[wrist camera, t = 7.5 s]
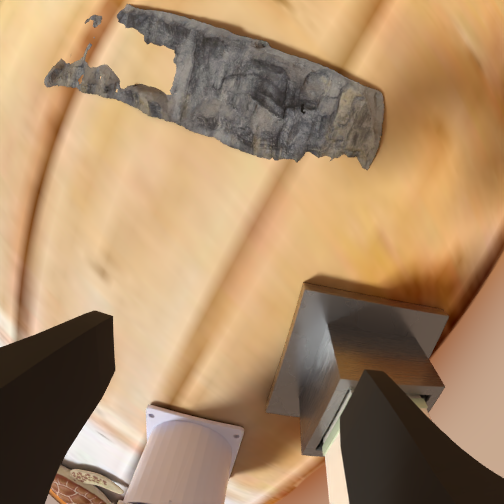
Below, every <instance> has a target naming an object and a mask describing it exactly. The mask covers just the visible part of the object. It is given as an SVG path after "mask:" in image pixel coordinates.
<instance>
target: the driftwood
mask: <svg viewBox="0 0 504 504" xmlns="http://www.w3.org/2000/svg"><path fill="white" fill-rule="evenodd" d="M117 18H118V20H119V21H118V22H120V23H122V24H124V25H125V26H126V28H131V27H133V28H135V29H136V30H138V31H139V32H140V33H141V34H143V35H144V41H145V42H146V43H147V44H149V43H153V44H155V45H158V46H162V45H164V46H166V47H168V48H170V49H173V50H175V56H176V57H175V58H174V63H175V64H176V67H177V68H176V74H175V77H174V81H173V86H172V88H171V90H170V92H171V94H172V95H166V94H165V93H164V92H162V91H160V90H158V89H156V88H154V87H148V86H146V85H143V84H139V85H136V84H135V86H134V85H130V86H127V88H125V89H121V88H120V85H119V84H120V80H119V78H118V77H117V76H116V74H115V73H114V72H113V71H112V69H111V68H110V67H109V66H108V65H101V66H99V67H97V68H95V67H93V68H90V67H89V66H88V64H87V62H85V57H86V54H87V51H88V50H89V48H90V47H91V46H92V44H89V45H88V47H87V48H86V51H85V53H84V57H82V58H81V59H80V60H78V61H76V62H74V63H72V64H70V63H67V64H66V63H65V61H64V60H62V59H61V60H60V61H59V62H58V63H57V64H56V65H55V66H53V68H52V69H51V70H50V72H49V73H48V75H47V76H46V77H45V81H44V83H45V85H46V86H47V87H52V86H56V85H58V86H66V87H72V88H75V87H77V88H78V89H79V91H81V92H83V93H88V94H90V93H91V94H98V95H99V96H100V95H101V96H102V97H105V98H110V99H111V98H113V99H117V100H118V101H119V100H120V101H122V102H124V103H127V104H129V105H130V106H133V107H135V108H138V109H139V110H141V111H142V112H143V113H145V114H147V115H148V116H151V117H158V118H159V119H164V120H165V121H169V122H174V123H176V124H178V125H180V126H183V127H185V128H186V129H188V130H190V131H193V132H195V133H199V134H202V135H205V136H208V137H215V138H216V139H217V140H220V141H221V142H222V143H223V144H226V145H228V146H230V147H232V148H236V149H239V150H241V151H243V152H246V153H249V154H252V155H256V156H257V157H260V158H261V157H263V158H266V159H269V160H270V159H271V158H272V157H273V159H274V160H279V159H293V160H295V161H296V162H298V161H299V160H300V159H301V158H302V157H303V156H304V154H305V152H311V153H312V154H314V155H315V156H316V157H318V158H319V157H323V156H328V157H331V158H332V159H333V158H338V157H340V156H341V155H343V154H345V155H347V156H348V157H355V156H356V157H357V158H358V161H359V162H360V164H361V166H362V168H364V169H366V170H368V169H369V168H370V167H369V166H370V164H371V163H372V161H373V158H374V157H375V156H376V155H375V154H376V152H377V149H378V147H379V141H380V136H381V135H382V133H381V132H382V123H383V119H384V118H383V114H384V103H383V101H384V100H383V95H382V93H381V92H380V91H378V90H375V89H372V88H370V87H367V86H363V85H361V84H360V83H359V82H355V81H353V80H351V79H348V78H347V77H344V76H342V75H341V74H339V73H337V72H336V71H335V70H332V69H329V68H328V67H323V66H322V65H320V64H317V63H314V62H311V61H309V60H307V59H304V58H299V57H297V56H293V55H289V54H286V53H284V52H281V51H280V50H277V49H274V48H271V47H270V46H269V43H268V42H266V41H263V40H257V39H251V38H249V37H243V36H239V35H235V34H233V33H231V32H230V31H228V30H225V29H222V28H217V27H214V26H212V25H210V24H208V25H207V24H206V23H202V22H200V21H199V22H198V21H196V20H194V19H188V18H186V17H185V16H184V17H183V16H178V15H176V14H172V13H167V12H163V11H156V10H143V9H139V8H136V7H134V6H130V5H128V4H127V5H126V7H125V8H124V9H123V10H121V11H120V12H119V13H118V15H117ZM90 19H91V20H94V23H93V27H94V28H95V27H97V26H98V25H99V24H100V23H101V20H102V16H97V15H93V16H91V17H90V18H89V19H87V20H86V21H85V24H86V23H87V22H89V20H90ZM94 39H95V37H94ZM90 49H91V48H90ZM82 74H84V76H83V78H82V83H81V84H79V82H78V79H79V78H80V77H81V75H82ZM100 76H102V77H101V80H100ZM116 89H118V93H117V92H115V91H116ZM332 159H331V160H332ZM331 160H330V161H331Z"/></svg>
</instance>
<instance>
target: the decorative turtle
mask: <svg viewBox="0 0 504 504" xmlns="http://www.w3.org/2000/svg"><path fill="white" fill-rule="evenodd" d="M95 485H97V486H101V487H103V488H105V489H108V490H110V491H112V492H115V493H118V494H123V493H124V491H123V490H122V489H121V488H120V487H119V486H117V485H116V484H115V483H114V482H112V481H111V480H109V479H108V478H106V477H105V476H102V475H100V474H98V473H95V472H91V471H86V470H80V469H72V470H70V469H68V468H66V467H64V466H63V465H60V467H59V469H58V472H57V474H56V476H55V478H54V481H53V483H52V486H51V489H52V491H53V492H54V493H55V494H57V495H58V496H59V498H61V499H62V500H63V501H64V502H66V503H67V504H114V503H112V502H111V501H109V499H108V498H107V497H106V495H105V494H104V493H103V492H102V491H100V490H99V489H98V488H97V487H96V486H95Z"/></svg>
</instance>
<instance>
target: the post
mask: <svg viewBox="0 0 504 504" xmlns="http://www.w3.org/2000/svg"><path fill="white" fill-rule="evenodd" d="M353 391H354V390H347V392H346V394H345V396H344V398H343V400H342V402H341V404H340V406H339V408H338V410H337V412H336V414H335V415H334V417H333V419H332V421H331V423H330V425H329V427H328V428H327V430H326V432H325V434H324V435H323V442H324V444H323V446H322V451H323V456H325V461H326V471H327V481H328V492H329V503H330V504H349V498H348V492H347V485H346V479H345V473H344V466H343V460H342V454H341V447H340V416H341V414H342V412H343V410H344V409H345V407H346V405H347V403H348V401H349V399H350V397H351V395H352V393H353ZM406 395H407V396H408V397H409V398H410V399H411V400H412V401H413V402H414V403H415V404H416V405H417V406H418V407H419V408H420V409H421V410H422V411H423V413H424V414H425V415H426V416H427V417H428V418H429V419H430V420H431V418H430V416H429V413H428V411H427V408H428V406H427V404H426V402H425V400H424V399H422V398H421V396H420V395H415V394H406ZM431 421H432V420H431Z"/></svg>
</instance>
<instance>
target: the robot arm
mask: <svg viewBox="0 0 504 504" xmlns="http://www.w3.org/2000/svg"><path fill="white" fill-rule="evenodd" d="M114 372H115V358H114V337H113V316H111V315H108V314H104V313H101V312H98V311H92V312H89V313H86V314H84V315H81V316H79V317H76V318H74V319H71V320H69V321H67V322H64V323H62V324H60V325H57V326H55V327H52V328H50V329H48V330H45V331H43V332H41V333H38V334H36V335H33V336H30V337H28V338H25V339H22V340H20V341H17V342H14V343H11V344H9V345H6V346H3V347H0V504H45V501H46V499H47V496H48V493H49V491H50V488H51V486H52V483H53V481H54V478H55V476H56V474H57V472H58V469H59V467H60V465H61V463H62V461H63V459H64V457H65V455H66V453H67V451H68V450H69V448H70V446H71V445H72V443H73V442H74V440H75V439H76V437H77V435H78V434H79V432H80V431H81V429H82V428H83V426H84V425H85V423H86V422H87V420H88V419H89V417H90V416H91V414H92V412H93V411H94V409H95V408H96V406H97V405H98V403H99V402H100V400H101V399H102V397H103V395H104V393H105V391H106V389H107V387H108V385H109V383H110V381H111V378H112V376H113V374H114ZM146 427H147V444H146V446H145V449H144V451H143V453H142V456H141V458H140V461H139V463H138V466H137V468H136V470H135V473H134V475H133V478H132V480H131V483H130V485H129V488H128V490H127V493H126V495H125V498H124V500H123V501H122V500H118V503H117V504H224V502H225V496H226V489H227V483H228V481H229V478H230V475H231V472H232V469H233V466H234V463H235V460H236V456H237V453H238V450H239V447H240V444H241V441H242V438H243V434H244V429H243V428H242V427H240V426H235V425H230V424H225V423H221V422H216V421H211V420H207V419H203V418H198V417H194V416H190V415H186V414H182V413H179V412H175V411H171V410H168V409H164V408H161V407H157V406H154V405H148V406H147V408H146ZM340 447H341V454H342V460H343V466H344V473H345V479H346V485H347V492H348V498H349V504H504V478H502V477H500V476H499V475H497V474H495V473H494V472H492V471H491V470H489V469H488V468H486V467H485V466H483V465H482V464H481V463H479V462H478V461H477V460H475V459H474V458H473V457H471V456H470V455H469V454H467V453H466V452H465V451H464V450H462V449H461V448H460V447H459V446H458V445H456V444H455V443H454V442H453V441H452V440H451V439H450V438H449V437H448V436H447V435H446V434H445V433H444V432H442V431H441V430H440V429H439V428H438V427H437V426H436V425H435V424H434V423H433V422H432V421H431V420H430V419H429V418H428V417H427V416H426V415H425V414H424V413H423V411H422V410H421V409H420V408H419V407H418V406H417V405H416V404H415V403H414V402H413V401H412V400H411V399H410V398H409V397H408V396H407V395H406V393H405V392H404V391H403V390H402V389H401V388H400V387H399V386H398V385H397V384H396V383H395V382H394V381H393V380H392V379H391V378H390V377H389V376H388V375H387V374H386V373H385V372H383V371H377V370H368V369H364V371H363V373H362V375H361V377H360V379H359V381H358V383H357V385H356V387H355V389H354V391H353V393H352V395H351V397H350V399H349V401H348V403H347V405H346V407H345V409H344V410H343V412H342V414H341V416H340Z"/></svg>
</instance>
